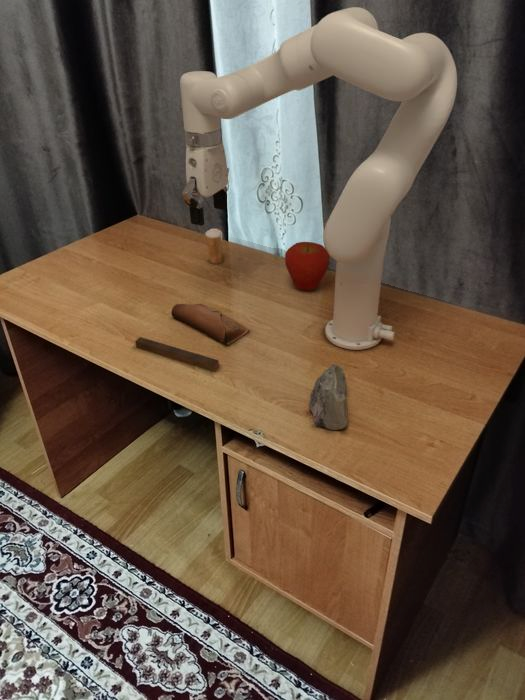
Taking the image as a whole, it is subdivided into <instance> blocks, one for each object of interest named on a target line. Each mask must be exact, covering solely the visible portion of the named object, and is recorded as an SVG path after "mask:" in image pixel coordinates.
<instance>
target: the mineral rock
mask: <svg viewBox="0 0 525 700" xmlns="http://www.w3.org/2000/svg"><path fill="white" fill-rule="evenodd" d="M347 387H348V384H347V378H346V374H345V371H344V369H343V367H342V366H341V365H337V364H331V365H330V366H329V367H328V368H327V369H325V370H324V371H323V372H322V373H321V375H320V376H318V378H316V381H315V383H314V385H313V387H312V388H313V389H312V391H311V392H310V397H309V401H308V407H309V409H310V411H311V414H312V417H313V423H315V426H317V427H319V428H325V429H327V430H330V431H338V430H343V429H345V428H346V427H347V426H348V424H349V423H348V404H347V399H346V395H347Z"/></svg>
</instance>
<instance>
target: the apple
mask: <svg viewBox="0 0 525 700" xmlns="http://www.w3.org/2000/svg"><path fill="white" fill-rule="evenodd" d="M284 255H285V256H284V265H285V267H286V269H287V272H288V274H289V276H290V279H291V281H292V282H293V284H294V285H295V286H296V287H297V288H298V289H300V290H303V291H313V290H314V289H316V288H317V287H319V285H320V284H321V282H322V280H323V278H324V277H325V276H326V273H327V271H328V268H329V266H330V255H329V254H328V252H327V250H326V248H325V246H324V245H322V244H320V243H317V242H312V241H300V242H296V243H294V244H293V245H291V246H290V247H289V248H288V249H287V250H286V252H285V253H284Z"/></svg>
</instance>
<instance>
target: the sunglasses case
mask: <svg viewBox="0 0 525 700" xmlns="http://www.w3.org/2000/svg"><path fill="white" fill-rule="evenodd" d="M170 314H171V316H172V317H173V318H174V319H177V320H178V321H181V322H184V323H186V324H188V325H191V326H192V327H194V328H196V329H197V330H200V331H201V332H203V333H205V334H207V335H209V336H211V337H212V338H215V339H216V340H218V341H220V342H221V343H224V344H226V345H227V346H229V345H231V344H233V343H235V342H237V341H238V340H240V339H241V338H243V337H244V336H246V335H247V334H248V333H249V332H250V331H249V329H248V328H247V327H246V326H245V325H243V324H241V323H240V322H239V321H237V320H235V319H234V318H231V317H230V316H228V315H225V314H224V313H222V311H220V310H218V309H216V308H214V307H211V306H208V305H205V304H203V303H193V304H191V303H176V304H175V305H173V306H172V308H171V313H170Z"/></svg>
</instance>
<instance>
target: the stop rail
mask: <svg viewBox="0 0 525 700" xmlns="http://www.w3.org/2000/svg"><path fill="white" fill-rule="evenodd" d="M134 343H135V347H136V349H139V350H142V351H146V352H150V353H152V354H155V355H159V356H163V357H166V358H169V359H172V360H176V361H179V362H181V363H185V364H189V365H190V366H191V365H192V366H195V367H198V368H200V369H201V368H202V369H204V370H208V371H211V372H214V373H215V372H216V371H217V370H218V369H219V368H220V365H219V364H220V363H219V360H218V359H217V358H216V359H215V358H213V357H208V356H206V355H202V354H199V353H195V352H193V351H189V350H186V349H182V348H179V347H176V346H172V345H168V344H166V343H162V342H158V341H155V340H152V339H149V338H145V337H142V336H139V337H138V338H137V339H136V340H134Z"/></svg>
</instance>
